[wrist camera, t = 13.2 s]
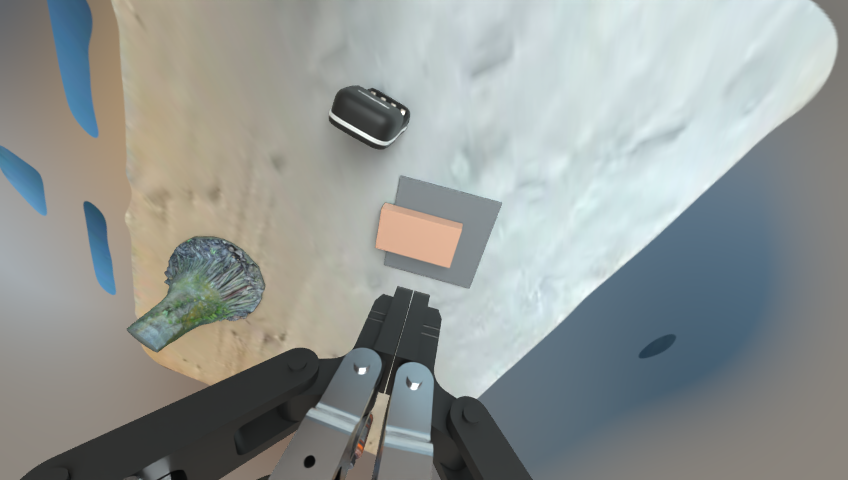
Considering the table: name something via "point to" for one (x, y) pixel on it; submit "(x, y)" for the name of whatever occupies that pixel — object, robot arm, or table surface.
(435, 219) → the tile
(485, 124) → the table surface
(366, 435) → the supplement bottle
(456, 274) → the mat
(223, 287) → the tree stump
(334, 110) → the battery charger
